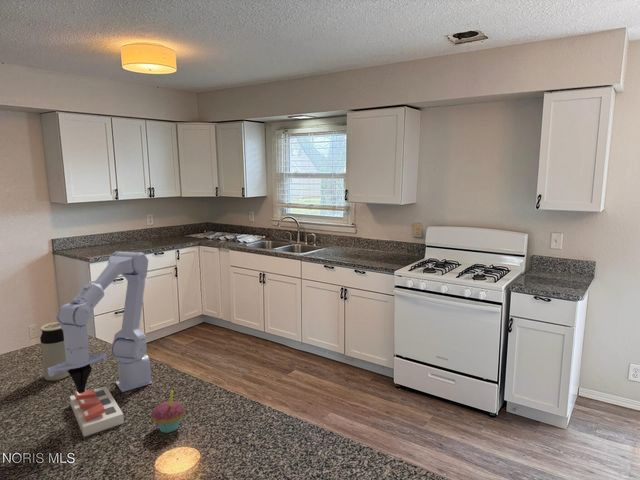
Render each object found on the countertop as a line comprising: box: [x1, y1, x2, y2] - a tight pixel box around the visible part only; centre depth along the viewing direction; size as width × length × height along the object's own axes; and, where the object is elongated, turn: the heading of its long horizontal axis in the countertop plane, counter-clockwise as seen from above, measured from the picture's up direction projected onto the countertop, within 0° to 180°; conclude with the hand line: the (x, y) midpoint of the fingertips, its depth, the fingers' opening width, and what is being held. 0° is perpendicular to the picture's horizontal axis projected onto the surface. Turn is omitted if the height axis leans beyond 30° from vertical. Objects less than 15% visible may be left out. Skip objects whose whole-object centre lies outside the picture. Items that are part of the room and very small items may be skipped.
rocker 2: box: [82, 403, 105, 421], centre depth 118 cm, size 5×4×1 cm
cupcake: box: [150, 388, 185, 434], centre depth 117 cm, size 9×8×12 cm
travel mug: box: [39, 321, 70, 381], centre depth 146 cm, size 8×8×18 cm
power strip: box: [69, 385, 125, 437], centre depth 128 cm, size 10×30×3 cm, turn 39°
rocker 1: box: [73, 388, 96, 400], centre depth 128 cm, size 5×4×1 cm
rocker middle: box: [78, 397, 101, 409], centre depth 123 cm, size 5×4×1 cm
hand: (80, 391), depth 121 cm, fingers closed
